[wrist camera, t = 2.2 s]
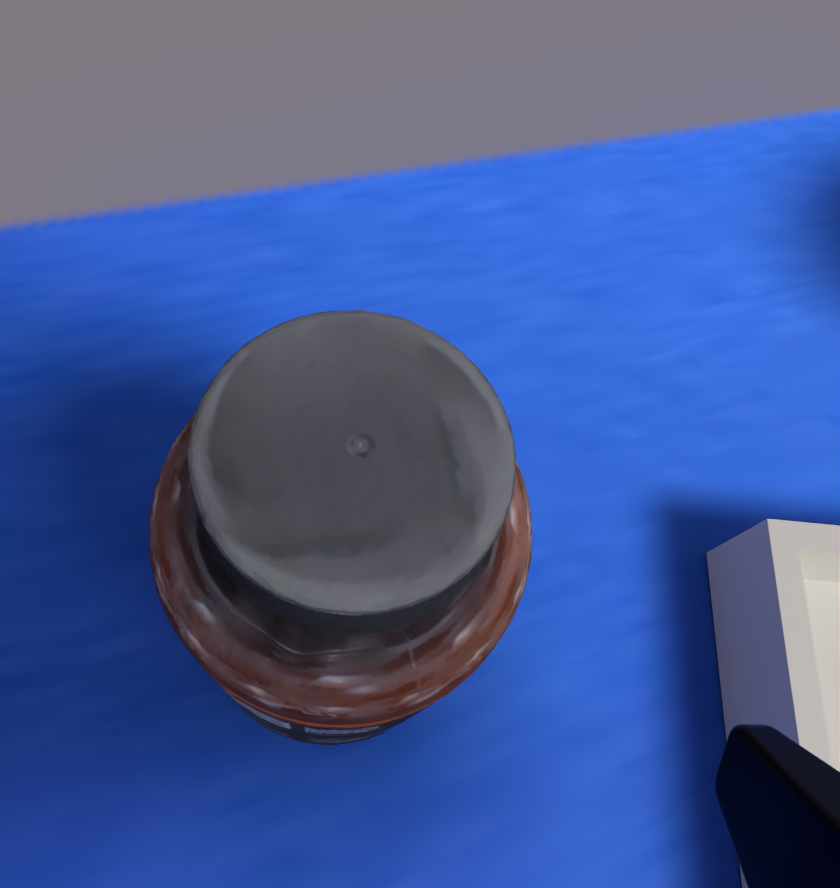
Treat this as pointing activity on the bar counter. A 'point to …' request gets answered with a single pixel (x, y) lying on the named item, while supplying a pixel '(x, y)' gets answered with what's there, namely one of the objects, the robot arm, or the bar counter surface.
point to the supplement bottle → (342, 525)
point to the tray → (780, 632)
